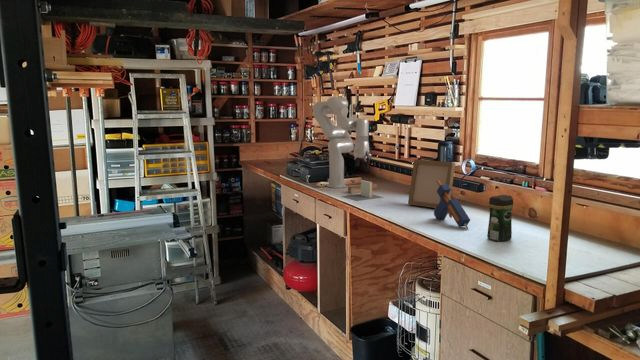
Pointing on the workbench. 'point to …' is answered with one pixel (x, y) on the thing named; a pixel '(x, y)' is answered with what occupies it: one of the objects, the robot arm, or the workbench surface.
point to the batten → (359, 188)
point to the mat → (360, 197)
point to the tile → (366, 188)
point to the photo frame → (429, 181)
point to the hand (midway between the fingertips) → (361, 166)
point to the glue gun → (450, 207)
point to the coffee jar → (500, 218)
